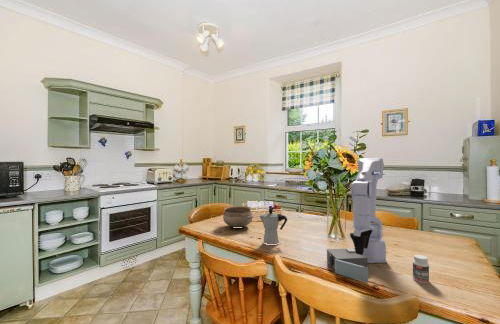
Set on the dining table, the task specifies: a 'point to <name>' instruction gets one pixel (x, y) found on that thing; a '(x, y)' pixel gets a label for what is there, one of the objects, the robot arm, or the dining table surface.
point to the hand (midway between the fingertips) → (361, 250)
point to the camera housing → (345, 257)
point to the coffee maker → (272, 226)
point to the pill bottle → (420, 269)
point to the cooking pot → (237, 216)
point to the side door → (351, 270)
